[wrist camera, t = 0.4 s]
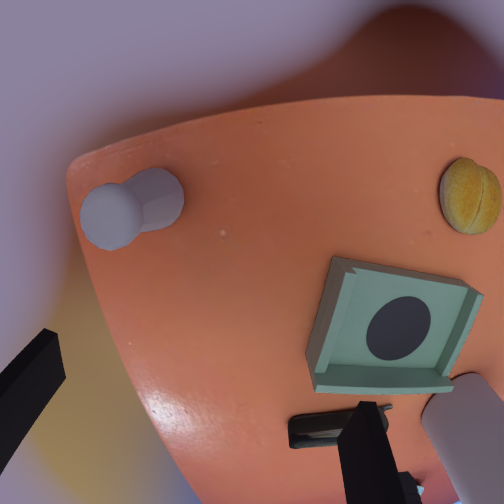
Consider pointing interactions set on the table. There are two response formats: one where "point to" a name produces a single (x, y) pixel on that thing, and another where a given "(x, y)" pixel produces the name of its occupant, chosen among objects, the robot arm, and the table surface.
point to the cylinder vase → (469, 438)
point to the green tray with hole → (388, 330)
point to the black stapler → (322, 428)
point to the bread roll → (470, 197)
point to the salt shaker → (131, 208)
